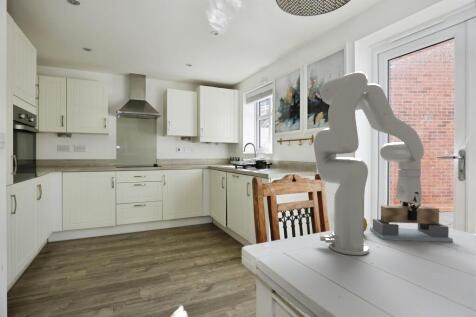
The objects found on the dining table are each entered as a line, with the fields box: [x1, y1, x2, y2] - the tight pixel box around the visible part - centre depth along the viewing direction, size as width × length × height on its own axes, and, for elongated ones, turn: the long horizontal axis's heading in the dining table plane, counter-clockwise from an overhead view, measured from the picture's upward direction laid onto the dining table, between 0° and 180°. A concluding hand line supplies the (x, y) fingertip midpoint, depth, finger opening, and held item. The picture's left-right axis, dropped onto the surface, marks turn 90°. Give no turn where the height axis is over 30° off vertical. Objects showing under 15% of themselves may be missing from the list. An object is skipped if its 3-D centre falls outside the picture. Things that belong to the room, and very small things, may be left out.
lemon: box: [364, 217, 368, 232], centre depth 104 cm, size 6×6×8 cm
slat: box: [380, 205, 440, 224], centre depth 102 cm, size 20×4×6 cm, turn 84°
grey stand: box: [369, 218, 454, 243], centre depth 102 cm, size 25×12×5 cm, turn 84°
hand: (409, 218), depth 102 cm, fingers closed on slat, 4 cm apart
